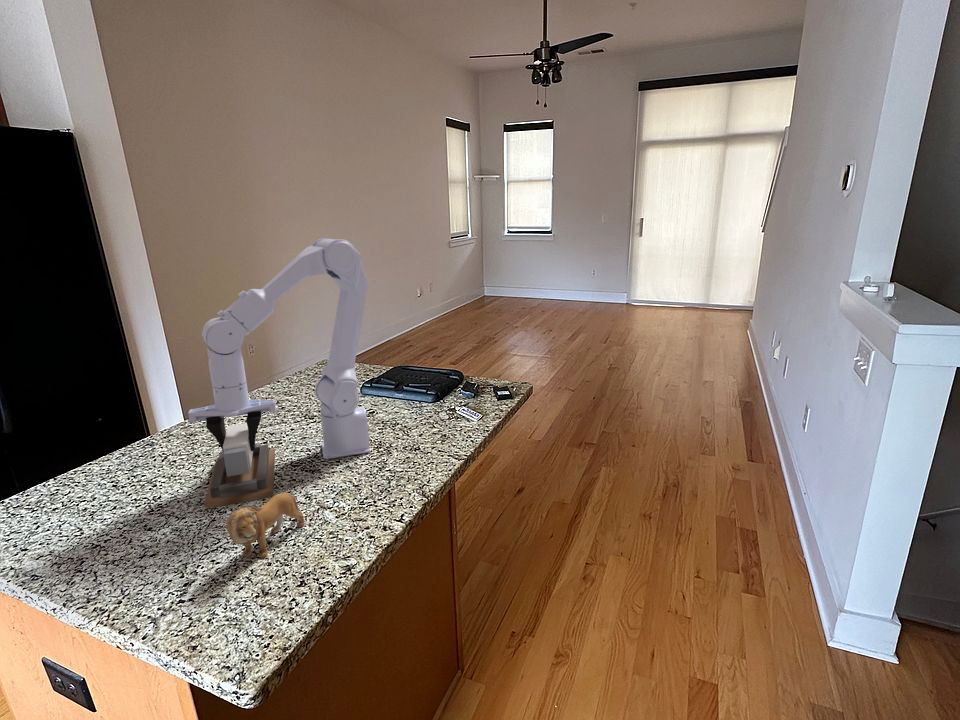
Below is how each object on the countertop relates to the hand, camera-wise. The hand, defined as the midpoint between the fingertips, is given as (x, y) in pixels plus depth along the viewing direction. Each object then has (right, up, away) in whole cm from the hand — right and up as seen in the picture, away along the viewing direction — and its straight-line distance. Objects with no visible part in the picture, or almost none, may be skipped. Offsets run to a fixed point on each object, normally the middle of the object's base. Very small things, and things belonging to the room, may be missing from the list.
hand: (239, 450), depth 98 cm
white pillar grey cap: (0, -1, 0) cm, 2 cm away
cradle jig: (0, -5, +1) cm, 5 cm away
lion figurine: (+14, -11, -19) cm, 26 cm away
